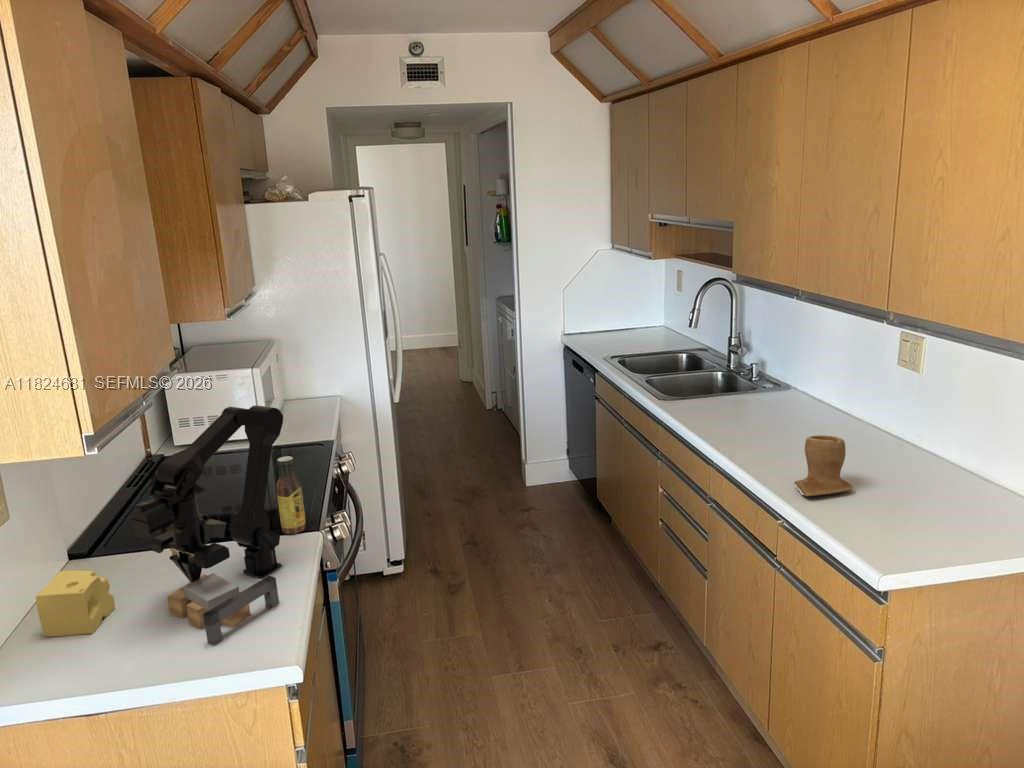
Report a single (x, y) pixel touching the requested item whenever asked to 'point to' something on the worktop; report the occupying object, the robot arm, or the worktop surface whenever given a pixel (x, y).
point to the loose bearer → (237, 617)
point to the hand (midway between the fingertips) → (195, 584)
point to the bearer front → (196, 615)
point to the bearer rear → (179, 602)
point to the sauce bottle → (290, 498)
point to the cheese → (74, 603)
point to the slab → (210, 591)
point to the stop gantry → (239, 606)
